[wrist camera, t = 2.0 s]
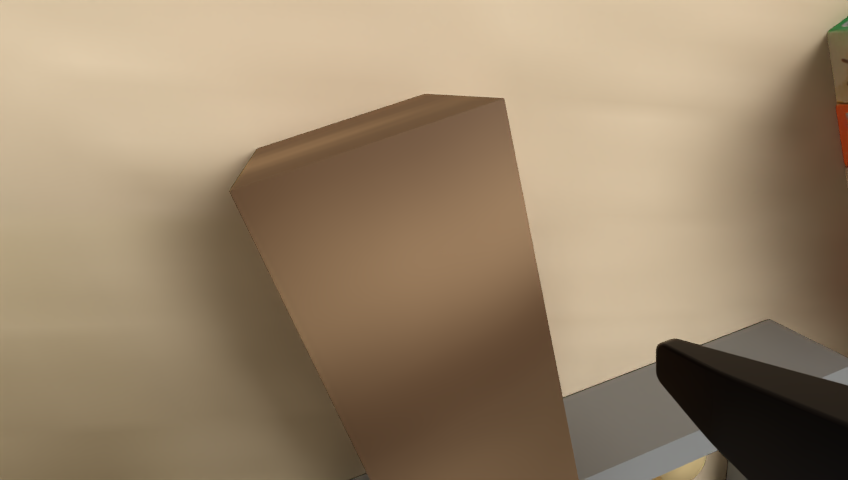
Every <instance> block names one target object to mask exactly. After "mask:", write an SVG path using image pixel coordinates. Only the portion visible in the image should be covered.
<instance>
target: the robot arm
mask: <svg viewBox="0 0 848 480" xmlns="http://www.w3.org/2000/svg"><path fill="white" fill-rule="evenodd" d="M656 375H657V378H658V380H659V382H660V383H661V384H662V386H663V387H664V388H665V389H666V390H667V392H668V393H669V394H670V395H671V396H672V398H673V399H674V400H675V401H676V402H677V404H678V405H679V406H680V407H681V408H682V410H683V411H684V412H685V413H686V414H687V415H688V417H689V418H690V419H691V420H692V421H693V423H694V424H695V425H696V426H697V427H698V429H699V430H700V431H701V432H702V433H703V434H704V436H705V437H706V438H707V439H708V440H709V441H710V442H711V443H712V444H713V445H714V446H715V448H716V449H717V450H718V451H719V452H720V453H721V454H722V455H723V456H724V457H725V458H726V459H727V460H728V461H729V462H730V463H731V464H732V465H733V466H734V467H735V468H736V469H737V470H738V471H739V472H740V473H741V474H742V475H743V476H744V477H745V478H746V479H747V480H848V385H845V384H841V383H838V382H834V381H830V380H827V379H823V378H819V377H816V376H812V375H808V374H805V373H801V372H797V371H793V370H790V369H786V368H782V367H779V366H775V365H771V364H768V363H764V362H760V361H757V360H753V359H749V358H746V357H742V356H738V355H735V354H731V353H727V352H724V351H720V350H716V349H713V348H709V347H705V346H702V345H698V344H694V343H691V342H687V341H683V340H680V339H670V340H667V341H665V342H662V343H660V344H658V346H657V348H656Z"/></svg>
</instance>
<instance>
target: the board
mask: <svg viewBox="0 0 848 480" xmlns="http://www.w3.org/2000/svg"><path fill="white" fill-rule="evenodd" d="M229 192H230V194H231V196H232V198H233V200H234V202H235V204H236V206H237V208H238V210H239V212H240V214H241V216H242V218H243V220H244V222H245V224H246V226H247V228H248V231H249V233H250V235H251V237H252V239H253V241H254V243H255V245H256V247H257V249H258V251H259V253H260V255H261V257H262V259H263V261H264V263H265V265H266V267H267V269H268V272H269V274H270V276H271V278H272V280H273V282H274V284H275V286H276V288H277V290H278V292H279V294H280V296H281V298H282V300H283V302H284V304H285V306H286V308H287V311H288V313H289V315H290V317H291V319H292V321H293V323H294V325H295V327H296V329H297V331H298V333H299V335H300V337H301V339H302V341H303V343H304V345H305V347H306V349H307V352H308V354H309V356H310V358H311V360H312V362H313V364H314V366H315V368H316V370H317V372H318V374H319V376H320V378H321V380H322V382H323V384H324V386H325V388H326V390H327V393H328V395H329V397H330V399H331V401H332V403H333V405H334V407H335V409H336V411H337V413H338V415H339V417H340V419H341V421H342V423H343V425H344V427H345V429H346V432H347V434H348V436H349V438H350V440H351V442H352V444H353V446H354V448H355V450H356V452H357V454H358V456H359V458H360V460H361V462H362V464H363V466H364V468H365V470H366V473H367V475H368V477H369V479H370V480H579V479H578V474H577V469H576V463H575V458H574V453H573V448H572V443H571V438H570V433H569V428H568V423H567V417H566V412H565V407H564V402H563V397H562V392H561V387H560V382H559V376H558V371H557V366H556V361H555V356H554V351H553V346H552V341H551V336H550V330H549V325H548V320H547V315H546V310H545V305H544V300H543V295H542V290H541V284H540V279H539V274H538V269H537V264H536V259H535V254H534V249H533V244H532V238H531V233H530V228H529V223H528V218H527V213H526V208H525V203H524V198H523V192H522V187H521V182H520V177H519V172H518V167H517V162H516V157H515V152H514V146H513V141H512V136H511V131H510V126H509V121H508V116H507V111H506V106H505V100H504V98H489V97H471V96H453V95H434V94H423V95H420V96H417V97H414V98H411V99H408V100H405V101H402V102H399V103H396V104H393V105H389V106H386V107H383V108H380V109H377V110H374V111H371V112H368V113H365V114H362V115H359V116H356V117H353V118H350V119H347V120H343V121H340V122H337V123H334V124H331V125H328V126H325V127H322V128H319V129H316V130H313V131H310V132H307V133H304V134H300V135H297V136H294V137H291V138H288V139H285V140H282V141H279V142H276V143H273V144H270V145H267V146H264V147H261V148H257V150H256V151H255V153H254V154H253V156H252V157H251V159H250V160H249V162H248V163H247V165H246V166H245V168H244V169H243V171H242V172H241V174H240V175H239V177H238V178H237V180H236V182H235V183H234V185H233V186H232V188H231V189H230V191H229Z"/></svg>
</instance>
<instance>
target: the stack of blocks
mask: <svg viewBox="0 0 848 480" xmlns="http://www.w3.org/2000/svg"><path fill="white" fill-rule="evenodd" d="M827 39H828V46H829V52H830V59H831V66H832V73H833V80H834V87H835V93H836V100H837V104H836V112H837V118H838V125H839V132H840V138H841V145H842V151H843V158H844V163H845V171H846V179H847V186H848V17H847V18H845V19H844V20H843V21H841V22H840V23H839V24H837V25H836V26H835V27H833V28H832V29H830V30H829V31H828V32H827Z"/></svg>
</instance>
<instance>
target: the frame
mask: <svg viewBox="0 0 848 480" xmlns="http://www.w3.org/2000/svg"><path fill="white" fill-rule="evenodd" d="M702 346H705V347H709V348H713V349H716V350H720V351H724V352H727V353H731V354H735V355H738V356H742V357H746V358H749V359H753V360H757V361H760V362H764V363H768V364H771V365H775V366H779V367H782V368H786V369H790V370H793V371H797V372H801V373H805V374H808V375H812V376H816V377H819V378H823V379H827V380H830V381H834V382H838V383H841V384H845V385H848V358H847V357H845V356H843V355H841V354H839V353H837V352H835V351H833V350H831V349H829V348H827V347H825V346H823V345H821V344H819V343H817V342H815V341H813V340H811V339H809V338H807V337H805V336H803V335H801V334H798V333H796V332H794V331H792V330H790V329H788V328H786V327H784V326H782V325H780V324H778V323H776V322H774V321H772V320H770V319H769V320H766V321H763V322H761V323H758V324H755V325H753V326H750V327H748V328H745V329H742V330H740V331H737V332H735V333H732V334H729V335H727V336H724V337H722V338H719V339H716V340H714V341H711V342H709V343H706V344H703V345H702ZM563 402H564V407H565V412H566V417H567V423H568V428H569V433H570V438H571V443H572V448H573V453H574V458H575V463H576V469H577V474H578V479H579V480H692V479H693V478H695V477H696V476H697V475H698V474H699V472H700V471H701V470H702V468H703V466H704V464H705V461H706V455H708V454H711V453H713V452H715V451H717V449H716V448H715V446H714V445H713V444H712V443H711V442H710V441H709V440H708V439H707V438H706V437H705V436H704V434H703V433H702V432H701V431H700V430H699V429H698V427H697V426H696V425H695V424H694V423H693V421H692V420H691V419H690V418H689V417H688V415H687V414H686V413H685V412H684V411H683V410H682V408H681V407H680V406H679V405H678V404H677V402H676V401H675V400H674V399H673V398H672V396H671V395H670V394H669V393H668V392H667V390H666V389H665V388H664V387H663V386H662V384H661V383H660V382H659V380H658V378H657V375H656V363H654V364H651V365H649V366H646V367H643V368H641V369H638V370H635V371H633V372H630V373H628V374H625V375H622V376H620V377H617V378H615V379H612V380H609V381H607V382H604V383H602V384H599V385H596V386H594V387H591V388H589V389H586V390H583V391H581V392H578V393H576V394H573V395H570V396H568V397H565V398H563ZM351 480H370V479H369V477H368V475H367V474H364V475H362V476H359V477H356V478H354V479H351ZM726 480H747V479H746V478H745V477H744V476H743V475H742V474H741V473H740V472H739V471H738V470H737V469H736V468H735V467H734V466H733V465H732V464H731V463H730V462H729V461H728V469H727V477H726Z"/></svg>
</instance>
